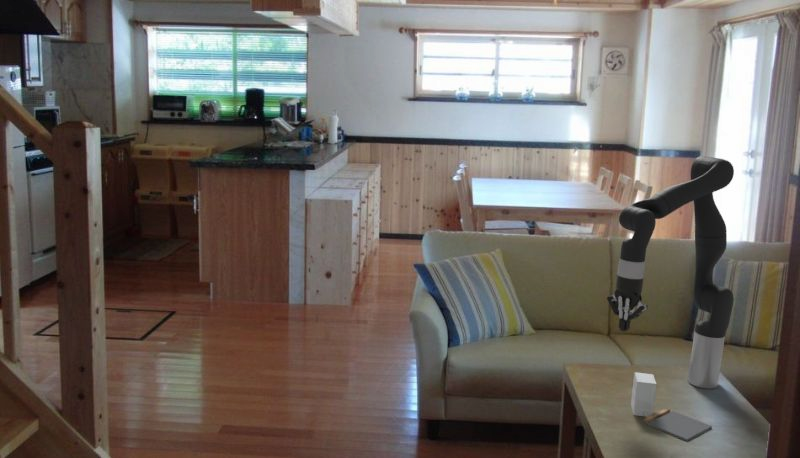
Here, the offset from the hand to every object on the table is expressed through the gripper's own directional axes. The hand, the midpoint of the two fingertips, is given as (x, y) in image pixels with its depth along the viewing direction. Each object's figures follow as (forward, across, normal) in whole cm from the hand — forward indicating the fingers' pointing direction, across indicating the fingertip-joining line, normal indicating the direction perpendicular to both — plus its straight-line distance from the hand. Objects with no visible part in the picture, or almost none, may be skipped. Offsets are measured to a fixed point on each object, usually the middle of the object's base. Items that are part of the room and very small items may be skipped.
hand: (623, 330), depth 229 cm
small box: (+23, -9, 0) cm, 24 cm away
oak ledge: (+22, -14, 0) cm, 26 cm away
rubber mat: (+22, -21, 0) cm, 31 cm away
